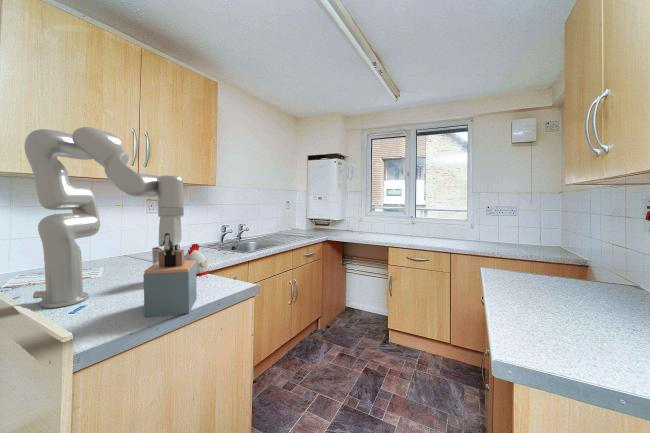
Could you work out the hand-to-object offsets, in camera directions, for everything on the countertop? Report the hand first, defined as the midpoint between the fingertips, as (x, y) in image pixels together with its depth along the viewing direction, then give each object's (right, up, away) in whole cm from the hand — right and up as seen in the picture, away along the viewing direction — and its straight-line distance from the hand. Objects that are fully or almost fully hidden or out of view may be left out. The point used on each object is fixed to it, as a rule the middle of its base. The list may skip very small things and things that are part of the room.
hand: (172, 264), depth 93 cm
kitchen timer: (-13, -12, +42) cm, 45 cm away
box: (0, -15, +1) cm, 15 cm away
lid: (0, -3, 0) cm, 3 cm away
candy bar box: (-19, -13, +29) cm, 36 cm away
